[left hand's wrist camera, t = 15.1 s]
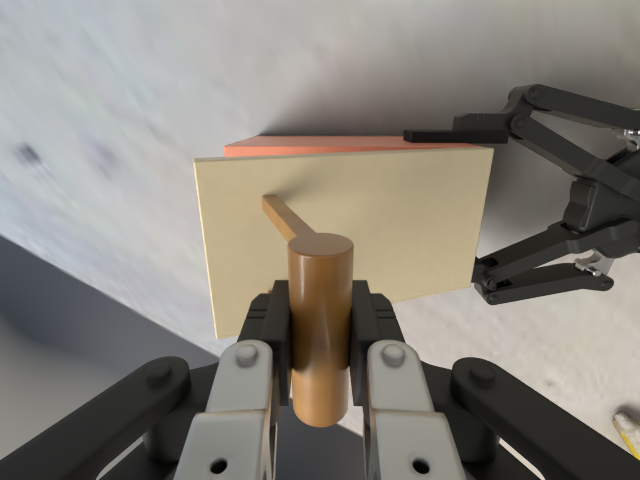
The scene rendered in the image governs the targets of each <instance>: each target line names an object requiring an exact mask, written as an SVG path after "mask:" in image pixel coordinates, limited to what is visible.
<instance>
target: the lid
mask: <svg viewBox="0 0 640 480" xmlns="http://www.w3.org/2000/svg"><path fill="white" fill-rule="evenodd" d="M493 154H494V149H493V148H487V147H463V148H438V149H413V150H389V151H364V152H339V153H314V154H289V155H264V156H240V157H215V158H194V159H193V165H194V172H195V180H196V188H197V195H198V203H199V211H200V219H201V226H202V234H203V242H204V249H205V257H206V265H207V273H208V280H209V288H210V296H211V303H212V311H213V319H214V327H215V334H216V339H222V338H227V337H232V336H237V335H240V332H241V329H242V326H243V324H244V321H245V319H246V315H247V313H248V311H249V307H250V304H251V301H252V300H253V299H254V298H255V297H257V296H258V295H259V294H260V293H272V289H273V285H274V282H275V280H288V282H289V306H290V315H291V343H292V391H293V408H294V411H295V414H296V415H297V416H298V418H299V419H300V420H301V421H303V422H304V423H306V424H308V425H311V426H315V427H327V426H331V425H333V424H335V423H337V422H338V421H340V420H341V419H342V418H343V417H344V415H345V414H346V412H347V408H348V391H349V359H350V332H351V307H352V285H353V280H367V283H368V286H369V290H370V293H382V294H383V295H384V296H385V297H386V298H387V299H389V300H390V302H391V303H396V302H401V301H405V300H410V299H415V298H420V297H425V296H430V295H434V294H439V293H444V292H449V291H454V290H458V289H463V288H468V287H470V285H471V279H472V273H473V268H474V262H475V256H476V250H477V245H478V239H479V233H480V228H481V222H482V216H483V211H484V205H485V199H486V194H487V188H488V182H489V176H490V171H491V165H492V159H493Z"/></svg>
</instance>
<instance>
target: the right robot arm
mask: <svg viewBox="0 0 640 480" xmlns="http://www.w3.org/2000/svg"><path fill="white" fill-rule="evenodd" d="M508 99H509V101H508V103H507V105H506V107H505V108H504V109H503V110H502V111H501V112H499V113H496V114H459V115H457V116H454V121H453V129H452V130H404V137H403V140H405V141H407V142H410V143H494V144H507V142H508V137H510V138H512V139H514V140H515V141H517V142H519V143H520V144H522V145H524V146H525V147H527V148H529V149H531V150H532V151H534V152H536V153H537V154H539V155H541V156H542V157H544V158H546V159H548V160H549V161H551V162H553V163H554V164H556V165H558V166H559V167H561V168H563V170H564V171H565V172H567V173H569V174H571V175H572V176H574V177H576V178H577V181H572V185H571V189H570V202H569V204H568V206H567V207H566V209H565V212H564V216H563V220H561V221H559V222H557V223H554V224H552V225H550V226H549V227H548V229H547V230H546V231H544V232H541V233H539V234H537V235H534V236H532V237H529V238H527V239H525V240H522V241H520V242H518V243H515V244H513V245H510V246H508V247H506V248H503V249H501V250H499V251H496V252H494V253H491V254H489V255H487V256H484V257H482V258H480V259H478V258H477V257H476V256H475V262H474V268H473V273H472V279H471V283H475V284H474V287H475V289H476V290H477V291H478V292H479V294H480V295H481V296H482V297H483V298H484V300H485V301H486V302H487V303H488V304H490V305H497V304H502V303H508V302H513V301H519V300H524V299H529V298H535V297H540V296H546V295H551V294H557V293H562V292H567V291H573V290H578V289H589V290H598V291H607V290H609V289H611V288H612V287H613V285H614V281H613V279H612V278H610V277H608V276H607V274H608V272H609V269H610V267H611V265H612V263H613V261H614V259H616V258H621V257H623V256H626V255H628V254H632V253H640V108H631V109H629V108H625V107H622V106H618V105H614V104H610V103H607V102H603V101H599V100H596V99H592V98H588V97H585V96H581V95H577V94H574V93H570V92H566V91H563V90H559V89H555V88H552V87H548V86H544V85H540V84H535V85H528V86H521V87H516V88H514V89H512V90H511V91H510V93H509V96H508ZM533 110H535V111H538V112H542V113H546V114H550V115H553V116H557V117H561V118H565V119H568V120H572V121H576V122H580V123H583V124H587V125H591V126H595V127H600V128H612V130H611V133H612V134H615V137H616V138H618V139H622V140H624V141H625V142H626V143H627V147H626V148H624V149H622V150H620V151H619V152H617V153H615V154H614V155H612V156H610V157H609V158H607V159H605V160H601V159H599V158H596V157H595V156H593V155H591V154H590V153H588V152H586V151H585V150H583V149H581V148H580V147H578V146H576V145H575V144H573V143H571V142H570V141H568V140H567V139H565V138H563V137H562V136H560V135H558V134H557V133H555V132H553V131H552V130H550V129H548V128H547V127H545V126H543V125H542V124H540V123H538V122H537V121H535V120H533V119H532V118H530V117H529V116H530V114H531V113H532V111H533ZM591 249H592V250H593V251H595V252H594V254H593V255H592V256H591V257H589V258H584V259H578V258H577V259H575V260H574V261H573V263H561V264H555V265H549V266H544V267H539V268H535V267H538V266H540V265H543V264H545V263H548V262H550V261H552V260H555V259H557V258H560V257H562V256H565V255H567V254H571V253H574V254H579V253H583V252H586V251H588V250H591ZM533 268H534V269H533Z"/></svg>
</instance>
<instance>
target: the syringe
mask: <svg viewBox="0 0 640 480" xmlns="http://www.w3.org/2000/svg"><path fill="white" fill-rule="evenodd" d="M614 419H615V420H612V422H613V425H614V427H615V428H616V430H617V431H618V432H619V434H620V435H621V437H622V438H623V440H624V442H625V443H626V444H627V446H628V448H629V450H630V451H631V453H632V454H633V455H634V457H636V458H637V459H639V460H640V425H639V424H638V423H637V422H635V421H634V420H632V419H631V418H630V417H629V415H628V416H627V415H626V414H625V413H624V412H622V411H620V412H618V413H617V414H616V415H615V416H614Z"/></svg>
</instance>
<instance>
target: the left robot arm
mask: <svg viewBox="0 0 640 480" xmlns="http://www.w3.org/2000/svg"><path fill="white" fill-rule="evenodd" d="M349 368H350V377H351V386H352V395H353V404H354V406H363V413H364V419H363V443H364V464H365V480H541V479H540V478H539V477H537V476H536V475H535V474H534V473H533V472H532V471H530V470H529V469H528V468H527V467H526V466H525V465H524V464H522V463H521V462H520V461H519V460H518V459H517V458H515V457H514V456H513V455H512V454H511V453H510V452H509V451H507V450H506V449H505V448H504V447H503V446H502V445H501V444H499V440H500V437H501V438H502V439H503V440H504V441H505V442H506V443H508V444H509V445H510V446H511V447H512V448H513V449H515V450H516V451H517V452H518V453H519V454H521V455H522V456H523V457H524V458H525V459H526V460H528V461H529V462H530V463H531V464H532V465H533V466H535V467H536V468H537V469H538V470H539V471H540V472H541V474H542V475H543V476H544V478H545V480H640V460H639V459H637V458H636V457H634V456H633V455H631V454H630V453H628V452H627V451H625V450H624V449H622V448H621V447H619V446H618V445H616V444H615V443H613V442H612V441H610V440H609V439H607V438H606V437H604V436H603V435H601V434H600V433H598V432H597V431H595V430H594V429H592V428H591V427H589V426H588V425H586V424H585V423H583V422H582V421H580V420H579V419H577V418H576V417H574V416H573V415H571V414H570V413H568V412H567V411H565V410H564V409H562V408H561V407H559V406H558V405H556V404H555V403H553V402H552V401H550V400H549V399H547V398H546V397H544V396H543V395H541V394H540V393H538V392H537V391H535V390H534V389H532V388H531V387H529V386H528V385H526V384H525V383H523V382H522V381H520V380H519V379H517V378H516V377H514V376H513V375H511V374H510V373H508V372H507V371H505V370H504V369H502V368H501V367H499V366H497V365H496V364H494V363H492V362H490V361H487V360H484V359H480V358H474V357H466V358H462V359H459V360H457V361H456V362H455V363H454V364H453V367H452V370H450V369H446V368H442V367H437V366H433V365H430V364H427V363H425V362H423V361H421V360H420V358H419V355H418V353H417V352H416V351H415V350H414V349H413V348H412V347H411V346H409V345H407V344H406V343H405V340H404V337H403V334H402V332H401V329H400V326H399V324H398V321H397V319H396V315H395V313H394V311H393V307H392V305H391V302H390V300H389V299H387V298H386V297H385V296H384V295H383V294H382V293H370V290H369V286H368V283H367V280H353V285H352V307H351V332H350V359H349ZM291 376H292V343H291V315H290V306H289V282H288V280H275V282H274V285H273V289H272V293H260V294H259V295H258V296H257V297H255V298H254V299H253V300H252V301H251V304H250V307H249V311H248V313H247V315H246V319H245V321H244V324H243V326H242V329H241V332H240V335H239V338H238V340H237V343H235V344H233V345H231V346H229V347H228V348H227V349H226V350H225V351H224V352H223V353H222V355H221V358H220V361H219V362H217V363H215V364H212V365H209V366H205V367H200V368H196V369H192V370H189V365H188V363H187V362H186V361H185V360H184V359H182V358H179V357H172V356H170V357H162V358H158V359H155V360H152V361H150V362H148V363H146V364H144V365H143V366H141V367H139V368H138V369H137V370H135V371H134V372H132V373H130V374H129V375H128V376H126V377H124V378H123V379H122V380H120V381H119V382H117V383H116V384H114V385H112V386H111V387H109V388H108V389H106V390H105V391H104V392H102V393H100V394H99V395H97V396H96V397H94V398H93V399H91V400H90V401H89V402H87V403H85V404H84V405H83V406H81V407H79V408H78V409H77V410H75V411H74V412H72V413H70V414H69V415H67V416H66V417H64V418H63V419H62V420H60V421H59V422H57V423H55V424H54V425H52V426H51V427H49V428H48V429H46V430H45V431H44V432H42V433H40V434H39V435H37V436H36V437H34V438H33V439H31V440H30V441H28V442H27V443H25V444H24V445H22V446H21V447H20V448H18V449H16V450H15V451H13V452H12V453H10V454H9V455H8V456H6V457H4V458H3V459H2V460H0V480H96V478H97V476H98V475H99V473H100V472H101V471H102V470H103V469H104V467H106V466H107V465H108V464H109V463H110V462H111V461H112V460H114V459H115V458H116V457H117V456H118V455H119V454H121V453H122V452H123V451H124V450H125V449H127V448H128V447H129V446H130V445H131V444H132V443H133V442H135V441H136V440H137V439H138V438H140V437H141V436H142V437H143V442H142V443H141V444H140V445H138V446H137V447H136V448H135V449H134V450H133V451H131V452H130V453H129V454H128V455H127V456H126V457H125V458H123V459H122V460H121V461H120V462H119V463H118V464H117V465H115V466H114V467H113V468H112V469H111V470H110V471H108V472H107V473H106V474H105V475H104V476H103V477H101V478H100V479H99V480H275V464H276V442H277V420H278V416H279V408H280V406H288V405H289V395H290V386H291Z"/></svg>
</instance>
